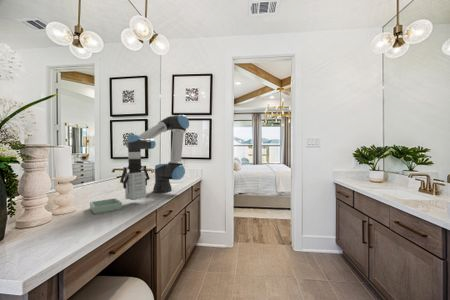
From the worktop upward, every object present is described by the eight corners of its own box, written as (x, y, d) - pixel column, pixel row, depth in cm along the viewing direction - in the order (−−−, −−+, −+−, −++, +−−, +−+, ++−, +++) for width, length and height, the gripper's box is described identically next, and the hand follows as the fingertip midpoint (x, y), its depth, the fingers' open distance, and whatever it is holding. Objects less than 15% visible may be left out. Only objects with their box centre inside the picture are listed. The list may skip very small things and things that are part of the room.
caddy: (115, 204, 130) (115, 198, 130) (122, 209, 118) (121, 202, 118) (90, 208, 121) (89, 202, 121) (93, 214, 109) (93, 207, 109)
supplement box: (146, 197, 133) (145, 172, 133) (134, 200, 125) (133, 173, 125) (137, 195, 138) (136, 171, 138) (124, 198, 130) (124, 173, 130)
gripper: (150, 157, 142) (151, 188, 142) (113, 159, 127) (114, 194, 127) (154, 157, 136) (155, 190, 137) (116, 159, 121) (117, 196, 121)
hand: (135, 191), depth 132 cm, fingers closed on supplement box, 11 cm apart
